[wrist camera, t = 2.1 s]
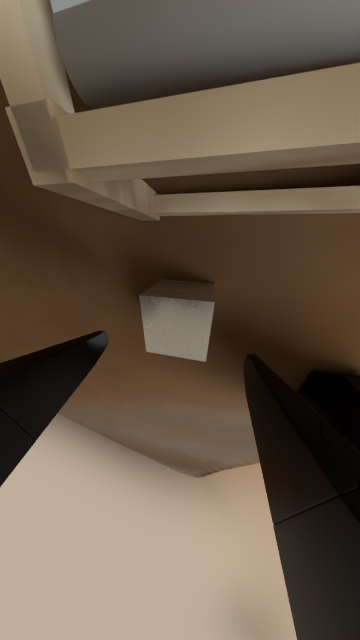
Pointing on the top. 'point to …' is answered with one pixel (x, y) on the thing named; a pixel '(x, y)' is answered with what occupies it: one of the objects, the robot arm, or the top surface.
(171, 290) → the steel cube
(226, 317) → the top surface
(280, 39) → the flap
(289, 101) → the birch frame
